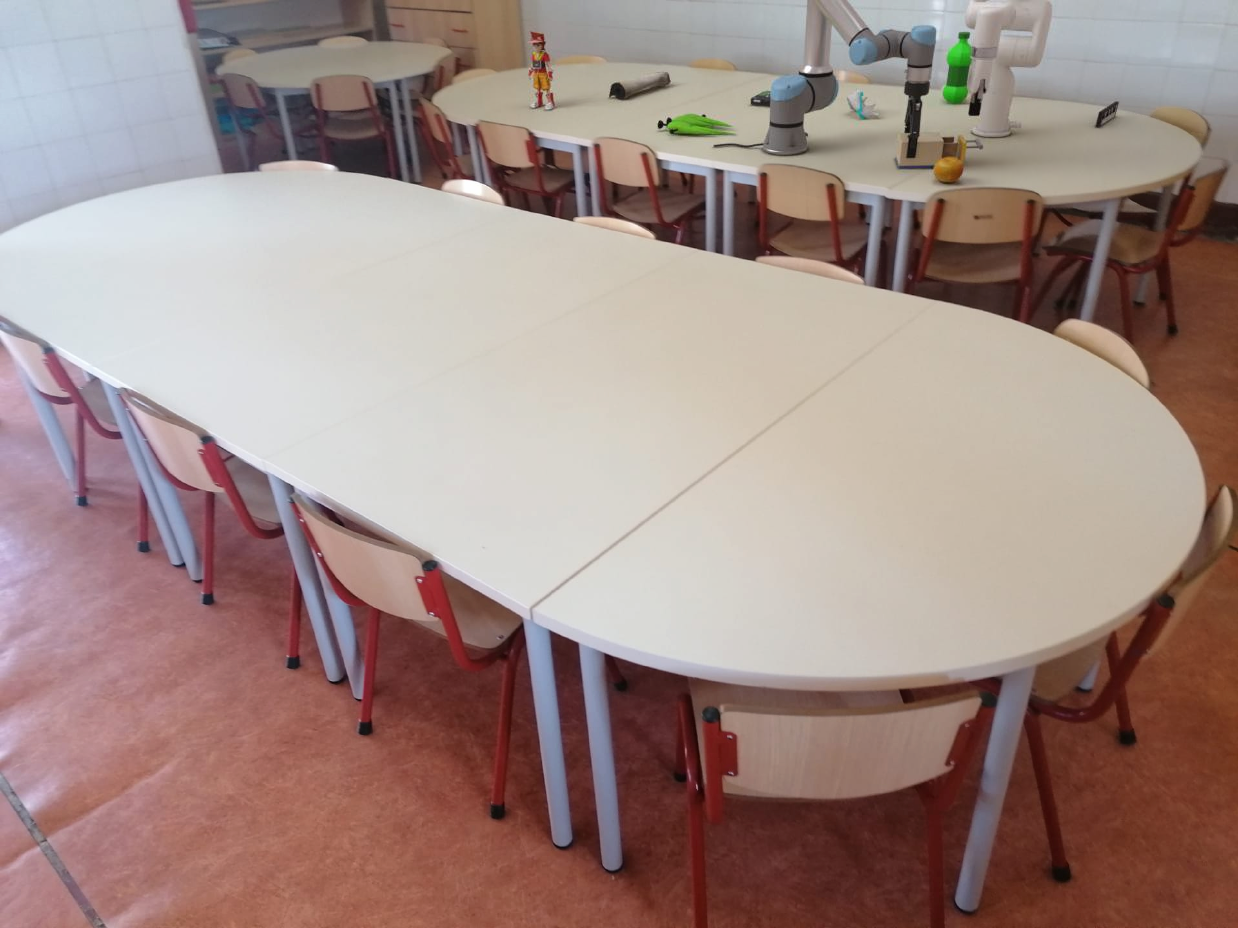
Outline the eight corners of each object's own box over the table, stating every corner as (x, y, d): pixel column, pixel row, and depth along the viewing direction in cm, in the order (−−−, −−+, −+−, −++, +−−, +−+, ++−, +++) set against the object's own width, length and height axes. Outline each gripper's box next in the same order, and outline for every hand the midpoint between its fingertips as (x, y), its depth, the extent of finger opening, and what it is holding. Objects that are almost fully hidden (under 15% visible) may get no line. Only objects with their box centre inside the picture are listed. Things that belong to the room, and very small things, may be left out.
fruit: (927, 172, 273) (945, 149, 270) (928, 175, 281) (945, 152, 278) (950, 188, 272) (968, 164, 269) (951, 190, 280) (968, 167, 277)
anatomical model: (842, 88, 347) (867, 81, 346) (844, 115, 353) (869, 108, 352) (853, 97, 335) (879, 90, 334) (855, 125, 341) (881, 118, 340)
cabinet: (935, 158, 297) (939, 132, 292) (940, 167, 288) (943, 141, 283) (895, 159, 299) (898, 133, 294) (898, 168, 290) (901, 142, 285)
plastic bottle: (973, 101, 354) (984, 32, 339) (955, 106, 349) (966, 36, 335) (952, 97, 361) (962, 29, 346) (934, 102, 356) (944, 33, 342)
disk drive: (773, 107, 363) (788, 98, 373) (773, 100, 361) (788, 91, 371) (750, 105, 368) (765, 96, 378) (750, 98, 366) (765, 89, 376)
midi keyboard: (1099, 127, 316) (1102, 112, 313) (1095, 126, 316) (1098, 112, 314) (1115, 116, 326) (1119, 101, 323) (1111, 115, 327) (1115, 101, 324)
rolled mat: (651, 76, 408) (662, 61, 399) (662, 93, 408) (674, 79, 400) (605, 92, 391) (616, 77, 383) (617, 110, 391) (628, 95, 383)
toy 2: (646, 133, 336) (718, 146, 323) (647, 118, 333) (719, 132, 320) (682, 121, 356) (750, 133, 343) (683, 107, 353) (752, 119, 341)
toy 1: (525, 109, 381) (517, 32, 364) (534, 104, 388) (527, 28, 371) (550, 110, 377) (543, 32, 360) (559, 105, 384) (553, 28, 367)
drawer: (976, 154, 294) (979, 134, 290) (981, 163, 286) (984, 142, 282) (922, 156, 296) (924, 136, 293) (926, 164, 289) (928, 144, 285)
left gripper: (901, 73, 289) (893, 143, 302) (909, 89, 270) (900, 163, 283) (925, 72, 288) (916, 142, 301) (935, 89, 269) (925, 163, 282)
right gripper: (967, 48, 279) (957, 109, 289) (975, 58, 267) (965, 121, 277) (992, 47, 278) (981, 109, 288) (1002, 57, 265) (990, 121, 276)
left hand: (908, 152), depth 292 cm, fingers closed on cabinet, 11 cm apart
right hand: (973, 115), depth 282 cm, fingers closed
